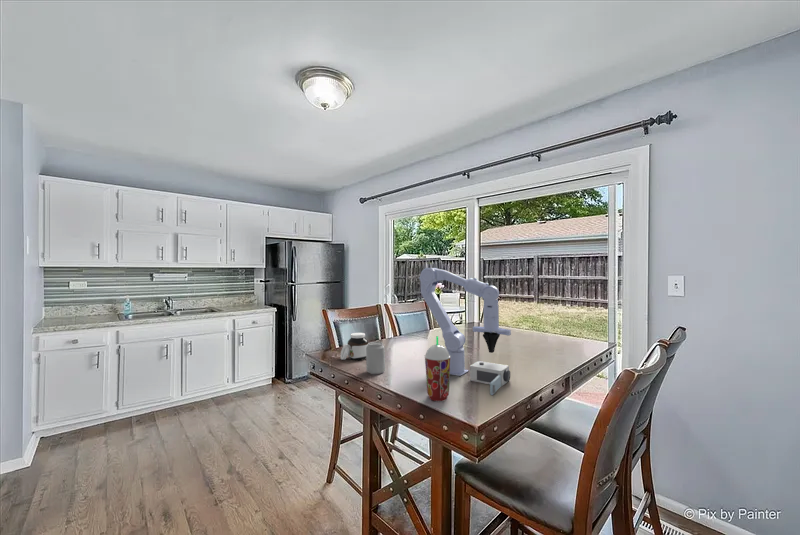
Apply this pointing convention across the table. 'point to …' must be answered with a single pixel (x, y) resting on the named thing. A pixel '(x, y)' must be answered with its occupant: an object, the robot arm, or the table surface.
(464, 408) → the table surface
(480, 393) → the table surface
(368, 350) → the can
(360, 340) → the spread jar
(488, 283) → the robot arm
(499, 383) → the side door
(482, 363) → the camera body
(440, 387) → the smoothie
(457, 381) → the table surface
